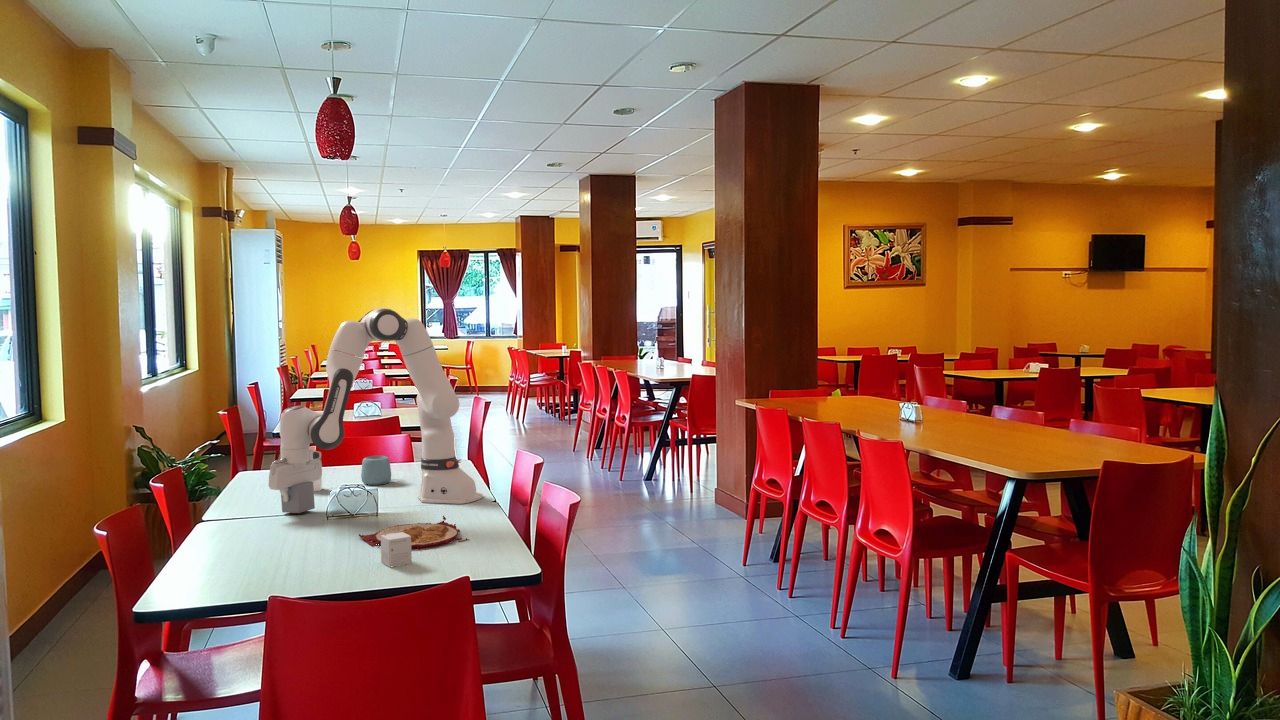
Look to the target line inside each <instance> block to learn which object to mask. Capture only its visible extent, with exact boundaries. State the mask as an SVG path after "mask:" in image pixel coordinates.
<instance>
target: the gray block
mask: <svg viewBox="0 0 1280 720" xmlns="http://www.w3.org/2000/svg"><path fill="white" fill-rule="evenodd" d="M287 493H288V495H290V501H288V502H284V501H283V496H282V494H281V493H280V497H281V501H280V502H281V511H282V513H292V514H294V513H295V514H301V513H304V512H307V511H310V510H314V509H315V508H316V506H315V492H314V489H313V482H304V483H300V484H296V485H292V487H288V491H287Z"/></svg>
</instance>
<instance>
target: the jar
mask: <svg viewBox="0 0 1280 720" xmlns="http://www.w3.org/2000/svg"><path fill="white" fill-rule="evenodd" d="M320 460H321V461H322V457H321V458H320ZM322 476H323V475H322ZM322 476H321V479H320V480H316V481H312V482H313V489H314V491H315V492H320V491H321V490H322V489H323V483H322V482H323V479H322V478H323V477H322Z"/></svg>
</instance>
